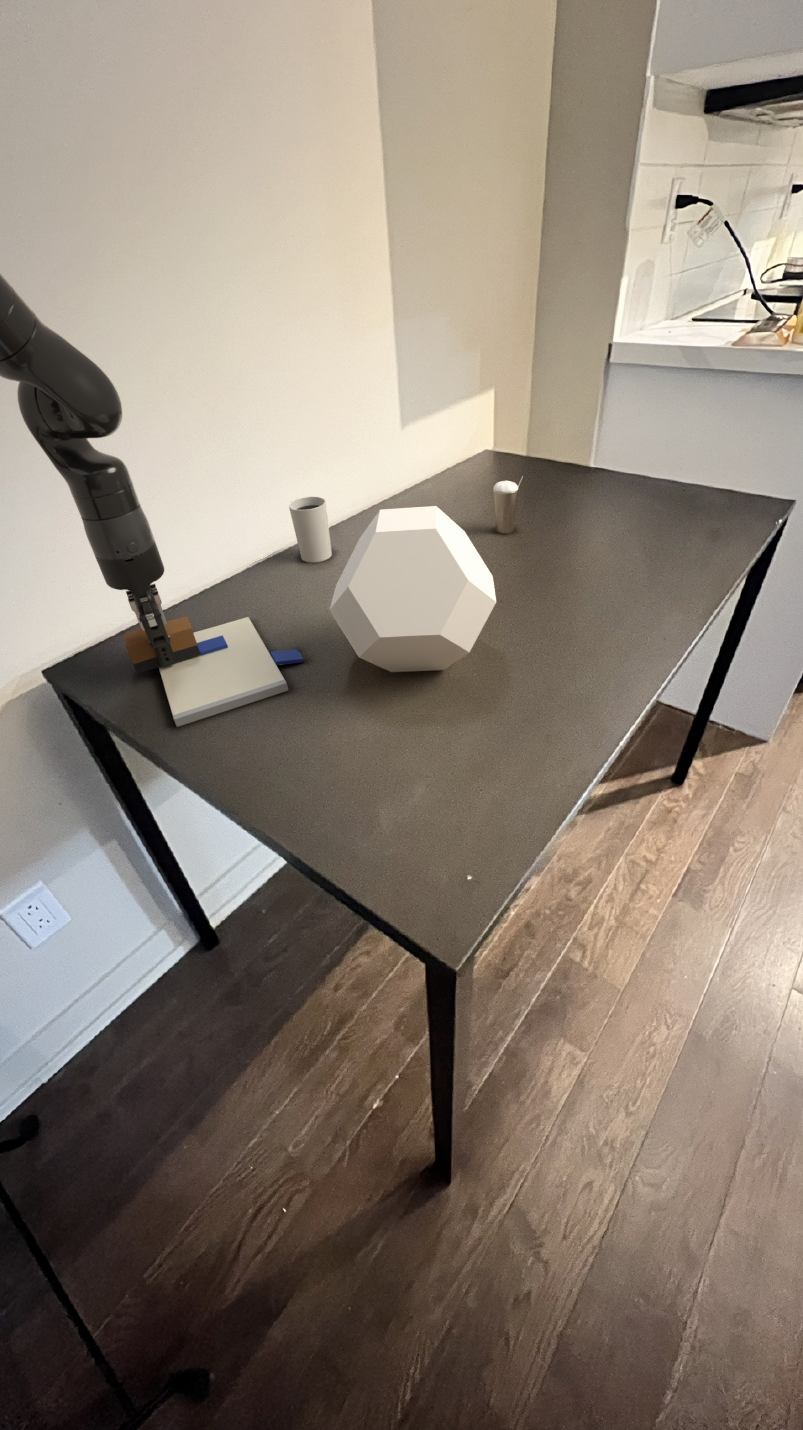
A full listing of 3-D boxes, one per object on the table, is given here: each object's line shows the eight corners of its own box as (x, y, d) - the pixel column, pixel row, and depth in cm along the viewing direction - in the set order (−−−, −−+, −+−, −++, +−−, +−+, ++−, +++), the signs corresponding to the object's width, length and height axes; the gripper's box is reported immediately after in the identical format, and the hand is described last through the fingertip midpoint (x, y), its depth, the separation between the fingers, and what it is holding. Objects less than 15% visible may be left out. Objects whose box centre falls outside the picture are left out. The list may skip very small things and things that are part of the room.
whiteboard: (176, 727, 80) (173, 719, 79) (154, 651, 95) (151, 643, 94) (288, 690, 84) (286, 682, 83) (250, 623, 99) (248, 616, 98)
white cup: (337, 547, 119) (329, 495, 113) (330, 562, 114) (321, 509, 108) (303, 548, 120) (293, 497, 114) (295, 564, 115) (284, 511, 109)
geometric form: (420, 607, 99) (411, 479, 86) (519, 652, 87) (525, 511, 74) (319, 660, 89) (292, 525, 77) (414, 720, 77) (401, 571, 64)
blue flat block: (201, 655, 90) (200, 652, 90) (197, 646, 93) (196, 642, 92) (228, 647, 92) (227, 644, 91) (223, 638, 94) (222, 635, 93)
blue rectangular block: (275, 665, 87) (275, 661, 87) (270, 655, 90) (270, 651, 89) (303, 662, 89) (303, 658, 89) (297, 652, 91) (297, 648, 91)
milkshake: (522, 533, 117) (524, 480, 111) (494, 535, 118) (494, 482, 112) (519, 524, 121) (521, 471, 115) (491, 526, 121) (492, 474, 115)
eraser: (200, 654, 90) (191, 627, 87) (137, 673, 88) (125, 646, 85) (195, 642, 93) (186, 615, 90) (133, 660, 90) (122, 633, 88)
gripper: (89, 533, 83) (134, 642, 94) (97, 572, 73) (146, 690, 84) (146, 520, 86) (183, 627, 96) (162, 556, 75) (201, 672, 86)
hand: (166, 656), depth 90 cm, fingers closed on eraser, 4 cm apart
